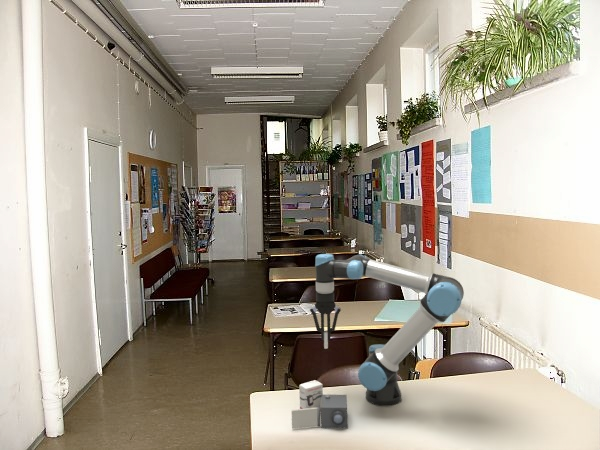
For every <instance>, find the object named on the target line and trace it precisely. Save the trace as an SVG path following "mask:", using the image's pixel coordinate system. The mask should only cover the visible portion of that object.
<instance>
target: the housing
mask: <svg viewBox="0 0 600 450" xmlns="http://www.w3.org/2000/svg"><path fill="white" fill-rule="evenodd" d="M347 398H348V397H347V394H323V395H322V396H321V407H320V427H321V429H348V427H349V426H348V424H349V423H348V399H347Z"/></svg>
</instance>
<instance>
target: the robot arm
mask: <svg viewBox="0 0 600 450" xmlns="http://www.w3.org/2000/svg"><path fill="white" fill-rule="evenodd" d="M314 266H315V291H316V293H315V304H314V306H312V307H310V309H309V312H310V313H311V314H312V317H313V320H314V321H313V322H314V325H315V329H316V331H317V332H318V333H319V332H320V334H321V336H320V337H321V339H320V340H321V341H323V347H324V348H323V349H325V350H326V349H328V348H329V341H330V340H331V337H332V336H331V333H332V332H335V330H336V326H337V323H338V316H339V314H340V312H341V311H342V310H341V307H339V306H337V305H336V302H335V292H334V291H335V279H343V280H345V279H347V280H360V279H362V277H367V278H370V279H375V280H378V281H381V282H385V283H388V284H392V285H395V286H399V287H402V288H406V289H410V290H414V291H417V292H419V293H420V292H421V293H424V296H422V298H421V300H419V304H420V305H419V308H418V309H417V310H416V311H415V312H414V313H413V314H412V315H411V316H410V317H409V319H407V321H406V322H405V323H404V324H403V325H402V326H401V327H400V328H399V329H398V331H397V332H396V333H395V334H394V335H393V336H392V337H391V338H390V339H389V340H388V341H387V343H385V344H380V343H379V344H371V345H370V346H369V348H368V354H369V355H368V357H367V358H366V359H365V361H364V362H363V363H362V364H361V365H360V366H359V368H358V372H357V377H358V380H359V382H360V385H362V387H364V388H365V389H366V391H365V399H366V401H367V402H369V404H372V405H375V406H382V407H383V406H385V407H387V406H388V407H389V406H394V405H398V404H400V403H401V402H402V392H401V389H400V386H399V382H398V371H399V369H400V368H399V364H401V362H402V361H403V360H405V358H406V357H407V356H408V355H409V353H410V352H412V351H413V350H414V348H416V346H417V345H418V344H419V343H420V342H421V341H422V340H423V339H424V338H425V337H426V335H427V334H428V333H430V331H431V330H432V329H433V328H434V327H435V326H436V325H438V323H445V321H447V319H449V317H451V315H453V314H454V313H456V312H457V311H458V310H459V309H460V307H461V305H462V302H463V301H462V300H463V299H464V296H465V295H464V294H465V292H464V291H465V290H464V288H463V286H462V284H461V282H460V281H458V279H456V278H454V277H450V276H447V275H442V274H437V273H433V272H432V273H430V274H428V273H424V272H421V271H417V270H412V269H409V268H405V267H402V266H397V265H393V264H389V263H386V262H382V261H378V260H374V259H371V258H367V257H366V256H364V255H362V254H357V255H353V256H352V257H350V258H348V259H336V258H335V257H334V254H331V253H330V254H329V253H320V254H317V255H316V256H315V264H314ZM317 311H318V313H319V315H320V323H319V320H318V316H317ZM333 311H334V313H335V314H334V317H333V322H332V325H331V314H332V312H333ZM325 315H326V328H327V330H326V331H325Z"/></svg>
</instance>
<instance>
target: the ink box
mask: <svg viewBox="0 0 600 450" xmlns="http://www.w3.org/2000/svg"><path fill="white" fill-rule="evenodd" d="M323 386H324V385H323V383H321V382H320V381H318V380H315V379H314V380H311V381H307V382H304V383H301V384H299V387H298V388H299V409H307V408H317V407H319V408H320V407H321V396H322V395H324V394H323V392H324V391H323V390H324V389H323Z"/></svg>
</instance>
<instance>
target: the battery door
mask: <svg viewBox="0 0 600 450" xmlns="http://www.w3.org/2000/svg"><path fill="white" fill-rule="evenodd" d="M312 427H313V428H314V427H321V414H320V408H319V407H317V408H307V409H300V408H299V409H291V429H292V430H294V429H303V428H312Z"/></svg>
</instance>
